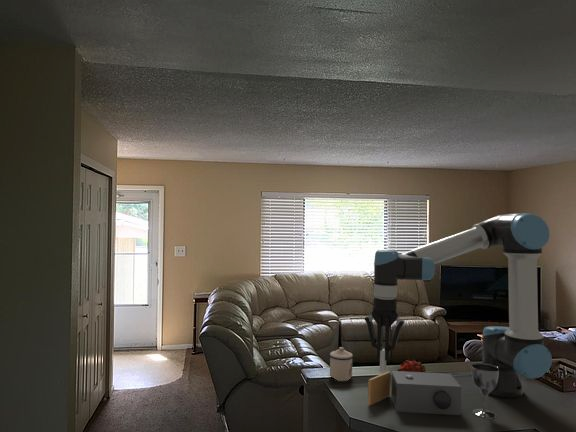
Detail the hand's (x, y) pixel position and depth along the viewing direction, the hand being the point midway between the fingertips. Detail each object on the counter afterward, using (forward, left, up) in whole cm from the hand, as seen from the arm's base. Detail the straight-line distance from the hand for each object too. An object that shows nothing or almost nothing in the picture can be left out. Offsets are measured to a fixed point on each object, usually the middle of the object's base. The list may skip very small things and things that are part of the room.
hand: (382, 369), depth 142 cm
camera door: (0, -6, -12) cm, 14 cm away
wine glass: (-32, 0, -13) cm, 35 cm away
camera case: (-14, -4, -13) cm, 20 cm away
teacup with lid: (+13, -28, -13) cm, 33 cm away
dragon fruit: (-14, -27, -13) cm, 33 cm away
